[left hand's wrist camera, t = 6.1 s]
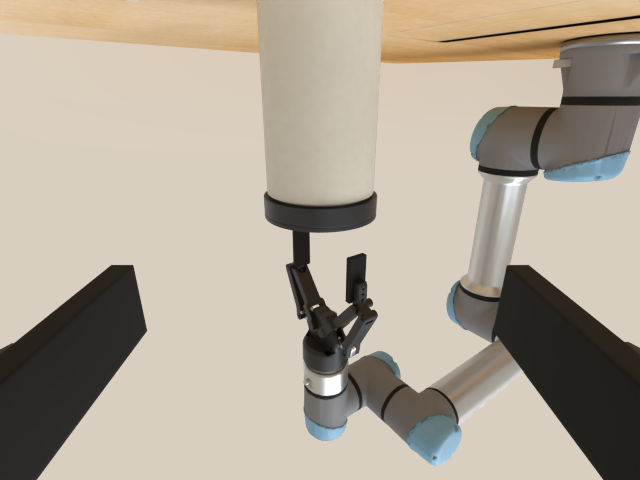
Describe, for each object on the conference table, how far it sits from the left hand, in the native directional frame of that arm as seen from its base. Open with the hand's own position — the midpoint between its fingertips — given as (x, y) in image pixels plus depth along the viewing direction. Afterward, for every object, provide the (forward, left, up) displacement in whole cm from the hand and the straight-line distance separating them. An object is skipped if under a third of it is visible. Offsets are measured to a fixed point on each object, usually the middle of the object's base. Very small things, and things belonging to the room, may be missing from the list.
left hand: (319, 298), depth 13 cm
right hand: (+36, -11, +13) cm, 39 cm away
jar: (+19, -6, -15) cm, 25 cm away
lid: (+19, -6, +3) cm, 20 cm away
